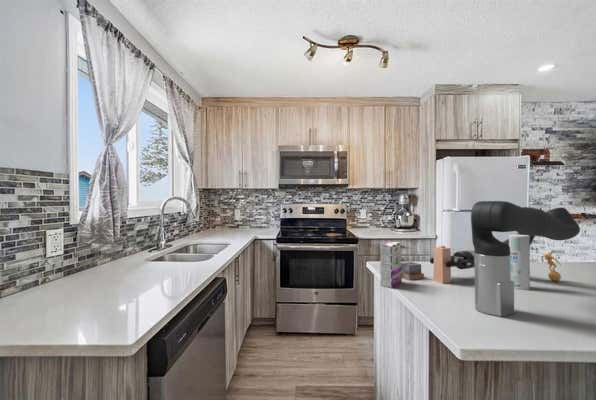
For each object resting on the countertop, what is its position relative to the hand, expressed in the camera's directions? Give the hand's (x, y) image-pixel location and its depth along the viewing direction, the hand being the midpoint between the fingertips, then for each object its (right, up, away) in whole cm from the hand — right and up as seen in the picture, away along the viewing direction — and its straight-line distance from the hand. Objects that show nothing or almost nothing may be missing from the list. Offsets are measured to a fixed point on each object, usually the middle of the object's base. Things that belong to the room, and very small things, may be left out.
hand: (438, 262), depth 126 cm
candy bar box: (-20, -8, -3) cm, 22 cm away
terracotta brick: (+2, -8, +1) cm, 8 cm away
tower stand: (-9, -8, +8) cm, 14 cm away
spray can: (+27, -8, -9) cm, 30 cm away
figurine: (+47, -8, 0) cm, 48 cm away
